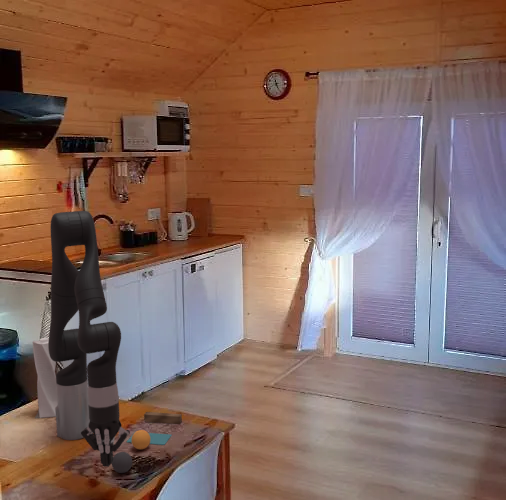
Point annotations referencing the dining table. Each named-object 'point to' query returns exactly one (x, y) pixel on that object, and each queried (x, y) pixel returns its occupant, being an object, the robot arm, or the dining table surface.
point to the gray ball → (122, 462)
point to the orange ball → (140, 439)
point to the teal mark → (156, 438)
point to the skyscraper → (45, 379)
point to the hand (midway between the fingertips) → (107, 465)
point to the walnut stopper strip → (162, 417)
